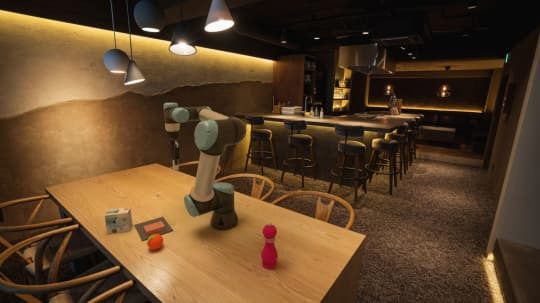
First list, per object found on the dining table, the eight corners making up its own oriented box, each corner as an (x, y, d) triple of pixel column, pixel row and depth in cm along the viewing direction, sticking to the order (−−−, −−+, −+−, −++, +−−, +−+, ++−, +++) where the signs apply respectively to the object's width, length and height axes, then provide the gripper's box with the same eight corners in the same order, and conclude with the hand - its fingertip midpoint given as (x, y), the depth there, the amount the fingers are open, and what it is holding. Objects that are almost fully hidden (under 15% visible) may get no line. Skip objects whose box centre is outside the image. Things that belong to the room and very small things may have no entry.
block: (161, 224, 135) (165, 230, 130) (144, 230, 130) (146, 236, 125) (161, 220, 134) (165, 226, 129) (143, 226, 129) (146, 231, 124)
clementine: (152, 255, 111) (150, 241, 109) (142, 251, 114) (140, 237, 112) (167, 246, 118) (165, 233, 116) (157, 242, 121) (156, 229, 119)
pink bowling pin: (277, 258, 110) (278, 217, 105) (278, 269, 103) (279, 227, 98) (260, 258, 110) (261, 217, 105) (260, 270, 103) (261, 227, 98)
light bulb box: (106, 234, 127) (103, 215, 124) (111, 227, 133) (108, 209, 130) (129, 231, 130) (127, 212, 127) (133, 224, 136) (130, 207, 133)
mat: (173, 231, 130) (173, 230, 130) (142, 241, 121) (141, 240, 121) (163, 217, 144) (163, 216, 144) (134, 225, 135) (134, 224, 135)
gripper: (183, 131, 138) (186, 171, 144) (175, 128, 148) (178, 166, 154) (169, 132, 133) (173, 173, 139) (162, 129, 143) (166, 168, 149)
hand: (176, 169), depth 146 cm, fingers closed
